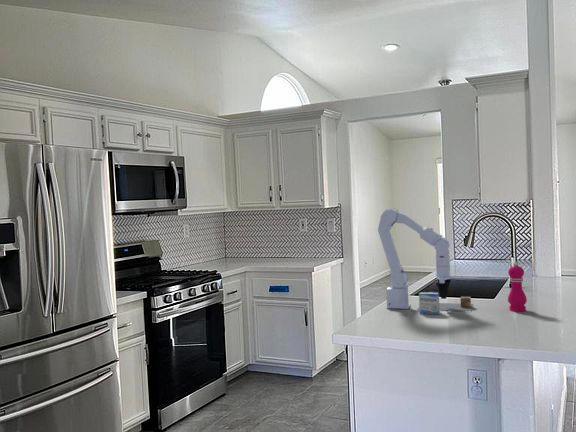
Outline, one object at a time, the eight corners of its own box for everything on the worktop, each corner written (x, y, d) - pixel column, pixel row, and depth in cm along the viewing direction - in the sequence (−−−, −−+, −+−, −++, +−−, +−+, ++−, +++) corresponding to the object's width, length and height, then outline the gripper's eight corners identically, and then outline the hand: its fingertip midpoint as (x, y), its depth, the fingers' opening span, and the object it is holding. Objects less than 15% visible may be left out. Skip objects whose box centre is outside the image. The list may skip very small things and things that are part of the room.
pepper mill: (527, 309, 221) (525, 261, 221) (527, 312, 214) (525, 263, 214) (508, 308, 224) (506, 261, 224) (507, 311, 218) (505, 263, 217)
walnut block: (460, 307, 228) (460, 298, 228) (461, 305, 232) (460, 296, 232) (470, 307, 227) (470, 298, 227) (470, 305, 231) (470, 296, 231)
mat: (417, 310, 229) (417, 309, 229) (421, 303, 243) (421, 302, 243) (471, 311, 221) (471, 310, 221) (472, 304, 235) (472, 303, 235)
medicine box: (419, 314, 221) (418, 293, 221) (420, 312, 225) (419, 291, 225) (438, 314, 218) (438, 294, 218) (439, 312, 222) (439, 292, 222)
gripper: (451, 268, 220) (452, 300, 221) (453, 263, 234) (455, 294, 234) (433, 268, 223) (435, 300, 223) (437, 263, 236) (438, 294, 237)
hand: (444, 297), depth 229 cm, fingers open, 5 cm apart
